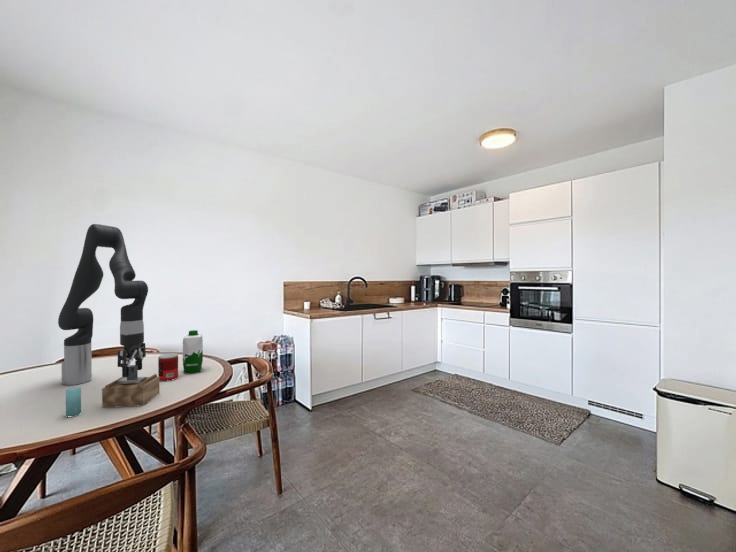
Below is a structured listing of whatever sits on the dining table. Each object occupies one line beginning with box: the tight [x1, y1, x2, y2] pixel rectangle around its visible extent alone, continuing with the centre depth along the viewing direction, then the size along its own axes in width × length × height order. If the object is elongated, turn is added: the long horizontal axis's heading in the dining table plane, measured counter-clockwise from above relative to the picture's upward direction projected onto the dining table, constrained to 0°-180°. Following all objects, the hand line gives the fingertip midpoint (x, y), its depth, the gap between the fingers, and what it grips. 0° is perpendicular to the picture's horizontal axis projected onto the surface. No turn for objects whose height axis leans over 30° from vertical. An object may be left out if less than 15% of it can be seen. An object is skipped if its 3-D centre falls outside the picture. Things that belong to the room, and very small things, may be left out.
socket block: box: [101, 373, 160, 408], centre depth 125 cm, size 14×12×8 cm
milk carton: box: [182, 329, 204, 375], centre depth 161 cm, size 9×9×20 cm
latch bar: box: [118, 364, 147, 384], centre depth 125 cm, size 8×4×6 cm, turn 98°
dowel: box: [65, 386, 82, 418], centre depth 113 cm, size 4×4×9 cm
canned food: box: [157, 352, 179, 382], centre depth 150 cm, size 8×8×11 cm
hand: (132, 373), depth 125 cm, fingers open, 8 cm apart
